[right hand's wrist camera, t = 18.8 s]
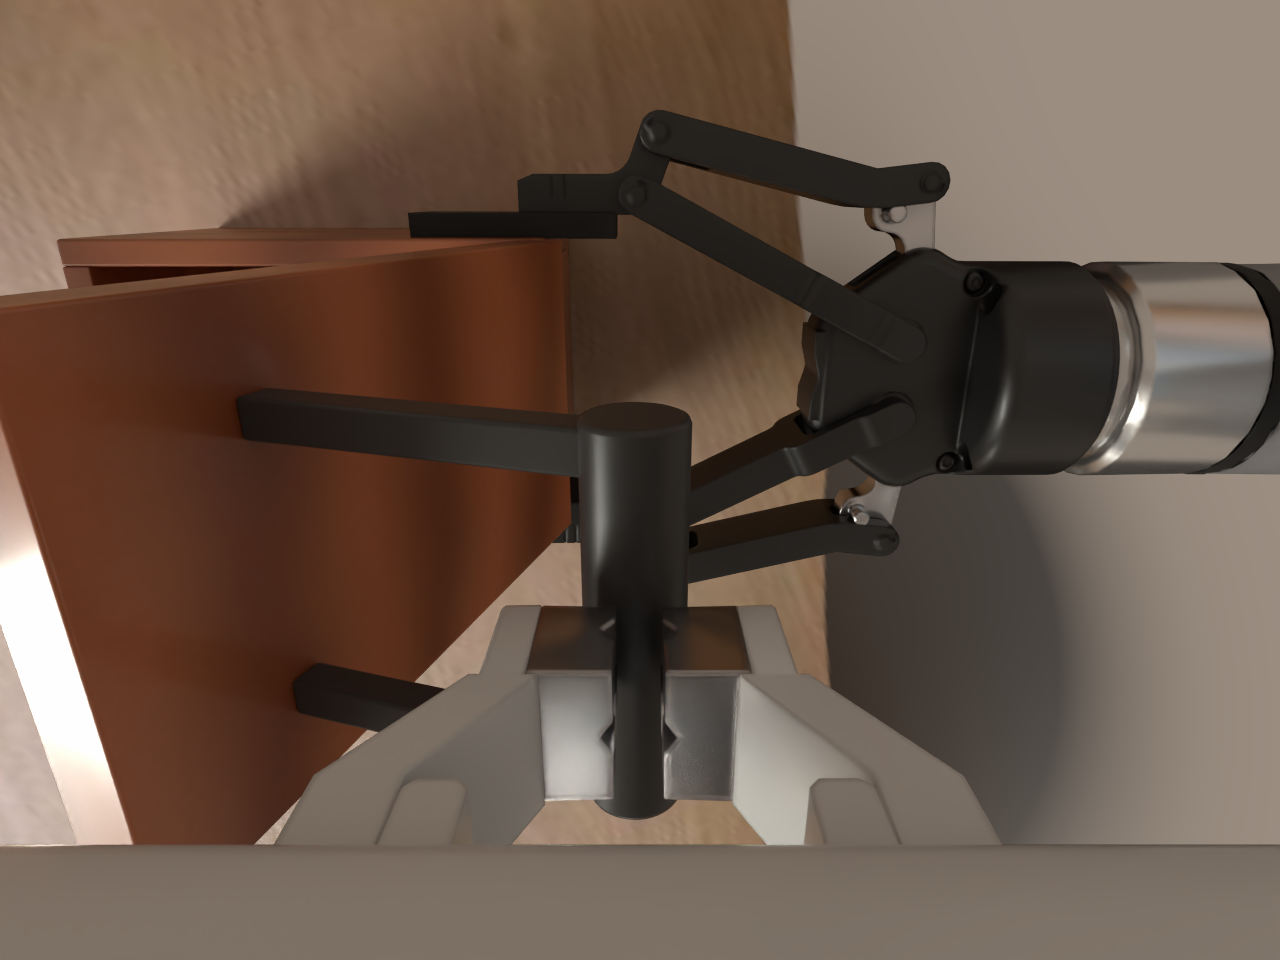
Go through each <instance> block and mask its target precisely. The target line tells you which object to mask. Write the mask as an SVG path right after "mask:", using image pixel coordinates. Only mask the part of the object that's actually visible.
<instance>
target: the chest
mask: <svg viewBox="0 0 1280 960" xmlns="http://www.w3.org/2000/svg"><path fill="white" fill-rule="evenodd" d="M516 240H560V241H561V245H562V273H563V301H564V329H565V357H566V385H567V413H568V414H574V406H573V376H572V345H571V315H570V284H569V253H568V239H564V238H545V237H441V238H411V237H410V228H213V229H199V230H185V231H170V232H155V233H141V234H126V235H111V236H97V237H82V238H67V239H59V240H57V244H58V248H59V252H60V256H61V260H62V263H63V265H64V266H67V267H63V270H64V274H65V277H66V281H67V285H68V289H70V288H79V287H88V286H98V285H107V284H116V283H125V282H135V281H144V280H153V279H163V278H172V277H181V276H191V275H200V274H209V273H218V272H228V271H237V270H246V269H256V268H265V267H274V266H284V265H293V264H302V263H311V262H321V261H330V260H339V259H349V258H358V257H367V256H377V255H386V254H395V253H404V252H414V251H423V250H432V249H442V248H451V247H460V246H470V245H479V244H488V243H497V242H507V241H516Z"/></svg>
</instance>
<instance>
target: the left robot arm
mask: <svg viewBox="0 0 1280 960" xmlns="http://www.w3.org/2000/svg"><path fill="white" fill-rule="evenodd" d="M669 161H670V162H674V163H678V164H681V165H685V166H689V167H693V168H697V169H700V170H704V171H708V172H712V173H715V174H719V175H723V176H727V177H731V178H734V179H738V180H742V181H746V182H749V183H753V184H757V185H761V186H765V187H768V188H772V189H776V190H780V191H783V192H787V193H791V194H795V195H798V196H802V197H806V198H810V199H814V200H817V201H821V202H825V203H829V204H833V205H838V206H843V207H858V208H864V216H865V221H866V223H867V225H868V226H869V227H870V228H871V229H873V230H876V231H881V232H886V233H887V234H889V235H890V236H891V237H892V238H893V240H894V242H895V246H896V250H895V251H893V252H892V253H890V254H889V255H887V256H886V257H885V258H883V259H882V260H880V261H879V262H877V263H876V264H875V265H873V266H872V267H870V268H869V269H867V270H866V271H864V272H863V273H862V274H860V275H859V276H857V277H856V278H854V279H853V280H852V281H850V282H849V283H847V284H846V285H844V286H842V285H841V284H839V283H837V282H835V281H833V280H832V279H830V278H828V277H826V276H824V275H822V274H820V273H818V272H817V271H815V270H813V269H811V268H809V267H807V266H806V265H804V264H802V263H800V262H798V261H797V260H795V259H793V258H791V257H789V256H788V255H786V254H784V253H782V252H781V251H779V250H777V249H775V248H773V247H772V246H770V245H768V244H766V243H764V242H763V241H761V240H759V239H757V238H755V237H754V236H752V235H750V234H748V233H747V232H745V231H743V230H741V229H739V228H738V227H736V226H734V225H732V224H730V223H729V222H727V221H725V220H723V219H721V218H720V217H718V216H716V215H714V214H713V213H711V212H709V211H707V210H705V209H704V208H702V207H700V206H698V205H696V204H695V203H693V202H691V201H689V200H687V199H686V198H684V197H682V196H680V195H679V194H677V193H675V192H673V191H671V190H670V189H668V188H666V187H664V186H662V185H661V183H662V180H663V177H664V174H665V172H666V169H667V166H668V163H669ZM517 183H518V202H519V212H439V211H429V212H414V213H408V217H409V227H410V237H411V238H441V237H545V238H564V239H616V238H617V235H618V234H617V215H633V216H635V217H637V218H639V219H641V220H643V221H644V222H646V223H648V224H650V225H652V226H654V227H655V228H657V229H659V230H661V231H663V232H664V233H666V234H668V235H670V236H672V237H674V238H675V239H677V240H679V241H681V242H683V243H685V244H686V245H688V246H690V247H692V248H694V249H696V250H697V251H699V252H701V253H703V254H705V255H707V256H708V257H710V258H712V259H714V260H716V261H718V262H719V263H721V264H723V265H725V266H727V267H729V268H730V269H732V270H734V271H736V272H738V273H739V274H741V275H743V276H745V277H747V278H749V279H750V280H752V281H754V282H756V283H758V284H760V285H761V286H763V287H765V288H767V289H769V290H771V291H772V292H774V293H776V294H778V295H780V296H782V297H783V298H785V299H787V300H789V301H791V302H793V303H794V304H796V305H798V306H800V307H801V308H803V309H805V310H807V311H808V312H810V313H812V314H811V316H810V318H809V320H808V322H803V331H802V348H803V354H804V359H805V368H804V370H803V373H802V376H801V379H800V382H799V385H798V394H797V406H798V407H799V409H800V410H798V411H796V412H794V413H791V414H789V415H787V416H785V417H783V418H781V419H780V420H778V421H777V422H776V423H775V424H774V425H773V427H771V428H770V429H768V430H766V431H764V432H762V433H760V434H758V435H756V436H754V437H752V438H749V439H747V440H745V441H743V442H741V443H739V444H737V445H735V446H733V447H731V448H729V449H727V450H724V451H722V452H720V453H718V454H716V455H714V456H712V457H710V458H708V459H706V460H704V461H702V462H700V463H697V464H695V465H693V466H691V484H690V523H689V526H690V525H692V524H695V523H697V522H699V521H701V520H703V519H705V518H707V517H710V516H712V515H714V514H716V513H718V512H720V511H722V510H724V509H727V508H729V507H731V506H733V505H735V504H737V503H739V502H742V501H744V500H746V499H748V498H750V497H752V496H754V495H757V494H759V493H761V492H763V491H765V490H767V489H769V488H772V487H774V486H776V485H778V484H780V483H782V482H784V481H787V480H789V479H791V478H793V477H796V476H809V475H812V474H815V473H817V472H819V471H822V470H824V469H826V468H828V467H830V466H832V465H834V464H837V463H839V462H841V461H843V460H845V459H847V460H848V461H850V462H851V463H852V464H854V465H855V466H857V467H858V468H859V469H861V470H862V471H863V472H865V473H866V474H867V475H868V477H867V479H866V480H865V482H864V483H863V484H861V485H860V486H858V487H854V488H848V489H842V490H840V491H839V492H838V495H837V496H836V498H835V499H816V500H810V501H804V502H799V503H795V504H790V505H786V506H781V507H777V508H772V509H768V510H763V511H758V512H754V513H749V514H745V515H740V516H736V517H731V518H727V519H722V520H718V521H713V522H709V523H704V524H700V525H695V526H691V527H689V562H688V584H689V583H694V582H698V581H703V580H708V579H712V578H717V577H722V576H726V575H731V574H736V573H740V572H745V571H749V570H754V569H759V568H763V567H768V566H773V565H777V564H782V563H787V562H791V561H796V560H800V559H805V558H810V557H814V556H819V555H824V554H828V553H833V552H844V553H854V554H864V555H873V556H886V555H889V554H891V553H893V552H894V551H895V550H896V549H897V547H898V545H899V536H898V533H897V532H896V530H895V529H894V528H893V527H892V520H893V516H894V512H895V508H896V504H897V500H898V497H899V493H900V489H901V486H904V485H907V484H910V483H912V482H914V481H916V480H918V479H920V478H922V477H925V476H928V475H932V474H958V475H1049V474H1055V473H1058V472H1061V471H1063V470H1064V471H1065V472H1068V473H1072V474H1077V475H1120V474H1178V473H1184V474H1206V473H1216V474H1280V264H1232V263H1218V262H1091V263H1088V264H1086V265H1083V266H1080V265H1078V264H1076V263H1072V262H1064V261H956V260H954V259H952V258H950V257H948V256H947V255H945V254H944V253H942V252H941V251H939V250H937V249H934V243H935V208H936V201H938V200H939V199H941V198H942V197H943V196H944V195H945V193H946V192H947V190H948V189H949V184H950V175H949V172H948V170H947V169H946V167H945V166H944V165H942V164H940V163H937V162H927V163H919V164H911V165H902V166H894V167H886V168H874V167H871V166H866V165H863V164H859V163H856V162H852V161H848V160H845V159H841V158H837V157H834V156H830V155H826V154H823V153H819V152H815V151H812V150H808V149H804V148H801V147H797V146H793V145H789V144H786V143H782V142H778V141H775V140H771V139H767V138H764V137H760V136H756V135H753V134H749V133H745V132H742V131H738V130H734V129H731V128H727V127H723V126H720V125H716V124H712V123H708V122H705V121H701V120H697V119H694V118H690V117H686V116H683V115H679V114H675V113H672V112H668V111H664V110H655V111H653V112H650V113H648V114H647V115H646V116H645V117H644V118H643V120H642V123H641V125H640V128H639V131H638V134H637V137H636V140H635V143H634V146H633V149H632V152H631V155H630V158H629V160H628V162H627V163H626V165H625V166H624V167H623V168H622V169H620V170H619V171H617V172H615V173H612V174H532V175H529V176H527V177H525V178H523V179H520V180H518V181H517ZM570 497H571V524H570V525H569V526H568V527H567V528H566V529H565V530H564V531H563V532H562V533H561V534H560V535H559V536H558V537H557V538H556V539H555V540H554V541H553V542H552V543H564V542H566V543H575V542H577V543H581V541H580V509H579V478H577V477H570Z"/></svg>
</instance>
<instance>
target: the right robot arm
mask: <svg viewBox="0 0 1280 960" xmlns="http://www.w3.org/2000/svg"><path fill="white" fill-rule="evenodd" d="M616 654H617V614H616V607H585V606H543V607H542V606H541V605H517V606H505V607H503V609H502V610H501V612H500V615H499V618H498V621H497V624H496V627H495V630H494V633H493V635H492V638H491V641H490V644H489V647H488V650H487V653H486V656H485V659H484V662H483V665H482V668H481V671H480V673H479V674H468V675H466V676H465V677H463V678H462V679H460V680H459V681H457V682H455V683H454V684H452V685H451V686H449V687H448V688H446V689H445V690H443V691H442V692H440V693H439V694H437V695H436V696H434V697H432V698H431V699H429V700H428V701H426V702H425V703H423V704H422V705H420V706H419V707H417V708H416V709H414V710H413V711H411V712H409V713H408V714H406V715H405V716H403V717H402V718H400V719H399V720H397V721H396V722H394V723H393V724H391V725H390V726H388V727H386V728H385V729H383V730H382V731H380V732H379V733H377V734H376V735H374V736H373V737H371V738H370V739H368V740H367V741H365V742H363V743H362V744H360V745H359V746H357V747H356V748H354V749H353V750H351V751H350V752H348V753H347V754H345V755H344V756H342V757H340V758H339V759H337V760H336V761H334V762H333V763H331V764H330V765H328V766H327V767H325V768H324V769H322V770H320V771H319V772H317V773H316V774H314V775H313V777H312V779H311V781H310V782H309V784H308V786H307V788H306V789H305V791H304V793H303V795H302V796H301V798H300V800H299V801H298V803H297V805H296V807H295V808H294V810H293V812H292V814H291V815H290V817H289V819H288V821H287V822H286V824H285V826H284V828H283V829H282V831H281V833H280V835H279V836H278V838H277V840H276V842H275V843H274V845H0V960H1280V845H1002V843H1001V841H1000V840H999V838H998V836H997V834H996V832H995V831H994V829H993V827H992V825H991V823H990V822H989V820H988V818H987V816H986V815H985V813H984V811H983V809H982V807H981V806H980V804H979V802H978V800H977V798H976V797H975V795H974V793H973V791H972V790H971V788H970V786H969V784H968V782H967V781H966V779H965V777H964V776H963V775H962V774H960V773H959V772H957V771H955V770H954V769H952V768H951V767H949V766H948V765H946V764H945V763H943V762H942V761H940V760H939V759H937V758H936V757H934V756H933V755H931V754H930V753H928V752H927V751H925V750H924V749H922V748H921V747H919V746H917V745H916V744H914V743H913V742H911V741H910V740H908V739H907V738H905V737H904V736H902V735H901V734H899V733H898V732H896V731H895V730H893V729H892V728H890V727H889V726H887V725H886V724H884V723H882V722H881V721H879V720H878V719H876V718H875V717H873V716H872V715H870V714H869V713H867V712H866V711H864V710H863V709H861V708H860V707H858V706H857V705H855V704H854V703H852V702H851V701H849V700H847V699H846V698H844V697H843V696H841V695H840V694H838V693H837V692H835V691H834V690H832V689H831V688H829V687H828V686H826V685H825V684H823V683H822V682H820V681H819V680H817V679H816V678H814V677H813V676H811V675H810V674H798V673H797V670H796V667H795V664H794V661H793V658H792V655H791V652H790V649H789V646H788V643H787V640H786V638H785V635H784V632H783V629H782V626H781V623H780V620H779V617H778V614H777V611H776V608H775V607H774V606H772V605H754V606H710V607H668V608H661V662H662V663H661V665H660V715H661V736H662V768H663V787H664V799H680V800H716V801H733V805H734V806H735V807H736V809H737V810H738V811H739V812H740V813H741V815H742V816H743V817H744V818H745V819H746V821H747V822H748V823H749V824H750V825H751V827H752V828H753V829H754V830H755V831H756V833H757V834H758V835H759V836H760V837H761V839H762V840H763V841H764V842H765V843H766V845H511V844H512V843H513V842H514V841H515V840H516V838H517V837H518V836H519V835H520V834H521V832H522V831H523V830H524V829H525V828H526V826H527V825H528V824H529V823H530V822H531V821H532V819H533V818H534V817H535V816H536V815H537V813H538V812H539V811H540V810H541V809H542V807H543V806H544V805H545V801H561V800H596V799H614V780H615V761H616V752H615V737H616V736H617V702H618V665H617V664H616Z"/></svg>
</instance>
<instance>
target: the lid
mask: <svg viewBox="0 0 1280 960" xmlns="http://www.w3.org/2000/svg"><path fill="white" fill-rule="evenodd" d="M691 445H692V421H691V418H690V416H689V415H688V414H687V413H686V412H685V411H683V410H680V409H678V408H675V407H671V406H668V405H663V404H656V403H646V402H624V403H613V404H607V405H602V406H598V407H595V408H592V409H589V410H587V411H585V412H583V413H582V414H581V415H574V414H568V413H567V385H566V357H565V329H564V301H563V273H562V245H561V241H560V240H516V241H507V242H497V243H488V244H479V245H470V246H460V247H451V248H442V249H432V250H423V251H414V252H404V253H395V254H386V255H377V256H367V257H358V258H349V259H339V260H330V261H321V262H311V263H302V264H293V265H284V266H274V267H265V268H256V269H246V270H237V271H228V272H218V273H209V274H200V275H191V276H181V277H172V278H163V279H153V280H144V281H135V282H125V283H116V284H107V285H98V286H88V287H79V288H70V289H60V290H51V291H42V292H32V293H23V294H14V295H5V296H0V624H1V627H2V630H3V633H4V636H5V639H6V642H7V644H8V647H9V650H10V653H11V656H12V659H13V662H14V664H15V667H16V670H17V673H18V676H19V679H20V681H21V684H22V687H23V690H24V693H25V696H26V699H27V701H28V704H29V707H30V710H31V713H32V716H33V718H34V721H35V724H36V727H37V730H38V733H39V736H40V738H41V741H42V744H43V747H44V750H45V753H46V756H47V758H48V761H49V764H50V767H51V770H52V773H53V775H54V778H55V781H56V784H57V787H58V790H59V793H60V795H61V798H62V801H63V804H64V807H65V810H66V812H67V815H68V818H69V821H70V824H71V827H72V830H73V832H74V835H75V838H76V841H77V844H78V845H254V844H255V843H256V842H257V841H258V840H259V839H260V838H261V837H262V836H263V835H264V834H265V833H266V832H267V831H268V830H269V829H270V828H271V827H272V826H273V825H274V824H275V823H276V822H277V821H278V820H279V819H280V818H281V816H282V815H283V814H284V813H285V812H286V811H287V810H288V809H289V808H290V807H291V806H292V805H293V804H294V803H295V802H296V801H297V800H298V799H299V798H300V797H301V796H302V795H303V793H304V791H305V789H306V788H307V786H308V784H309V782H310V781H311V779H312V777H313V775H314V774H316V773H317V772H319V771H320V770H322V769H324V768H325V767H327V766H328V765H330V764H331V763H333V762H334V761H336V760H337V759H339V758H340V757H341V756H342V755H343V754H344V753H345V752H346V751H347V750H348V749H349V748H350V747H351V746H352V745H353V744H354V743H355V742H356V741H357V740H358V739H359V738H360V737H361V736H362V735H363V734H364V732H365V731H366V730H371V731H375V732H380V731H382V730H383V729H385V728H386V727H388V726H390V725H391V724H393V723H394V722H396V721H397V720H399V719H400V718H402V717H403V716H405V715H406V714H408V713H409V712H411V711H413V710H414V709H416V708H417V707H419V706H420V705H422V704H423V703H425V702H426V701H428V700H429V699H431V698H432V697H434V696H436V695H437V694H439V693H440V692H442V691H443V690H445V689H443V688H439V687H434V686H429V685H424V684H420V683H415V681H416V680H417V679H418V678H419V677H420V676H421V675H422V674H423V673H424V672H425V671H426V670H427V669H428V668H429V667H430V666H431V665H432V664H433V663H434V662H435V661H436V660H437V659H438V658H439V657H440V656H441V655H442V654H443V653H444V652H445V651H446V650H447V648H448V647H449V646H450V645H451V644H452V643H453V642H454V641H455V640H456V639H457V638H458V637H459V636H460V635H461V634H462V633H463V632H464V631H465V630H466V629H467V628H468V627H469V626H470V625H471V624H472V623H473V622H474V621H475V620H476V619H477V618H478V617H479V616H480V615H481V614H482V613H483V612H484V611H485V610H486V609H487V608H488V607H489V606H490V605H491V604H492V603H493V602H494V601H495V600H496V599H497V598H498V597H499V596H500V595H501V594H502V593H503V592H504V591H505V590H506V589H507V588H508V587H509V586H510V585H511V584H512V583H513V582H514V581H515V580H516V579H517V578H518V577H519V576H520V575H521V574H522V573H523V572H524V571H525V570H526V569H527V568H528V567H529V565H530V564H531V563H532V562H533V561H534V560H535V559H536V558H537V557H538V556H539V555H540V554H541V553H542V552H543V551H544V550H545V549H546V548H547V547H548V546H549V545H550V544H551V543H552V542H553V541H554V540H555V539H556V538H557V537H558V536H559V535H560V534H561V533H562V532H563V531H564V530H565V529H566V528H567V527H568V526H569V525H570V524H571V497H570V477H577V478H579V509H580V541H581V573H582V605H583V606H585V607H616V614H617V654H616V664H617V665H618V702H617V736H616V737H615V752H616V761H615V780H614V799H596V800H594V801H595V802H596V804H597V805H598V806H599V807H600V808H601V809H603V810H604V811H605V812H607V813H609V814H611V815H613V816H616V817H619V818H623V819H630V820H640V819H647V818H652V817H655V816H657V815H660V814H662V813H663V812H665V811H667V810H668V809H669V808H670V807H672V805H673V804H674V803H675V802H676V800H677V799H664V787H663V768H662V736H661V715H660V665H661V663H662V662H661V608H668V607H687V601H688V562H689V523H690V484H691Z"/></svg>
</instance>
